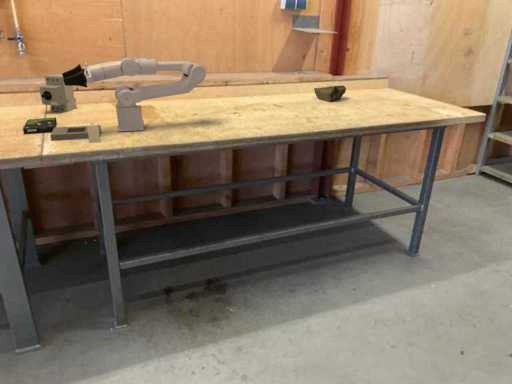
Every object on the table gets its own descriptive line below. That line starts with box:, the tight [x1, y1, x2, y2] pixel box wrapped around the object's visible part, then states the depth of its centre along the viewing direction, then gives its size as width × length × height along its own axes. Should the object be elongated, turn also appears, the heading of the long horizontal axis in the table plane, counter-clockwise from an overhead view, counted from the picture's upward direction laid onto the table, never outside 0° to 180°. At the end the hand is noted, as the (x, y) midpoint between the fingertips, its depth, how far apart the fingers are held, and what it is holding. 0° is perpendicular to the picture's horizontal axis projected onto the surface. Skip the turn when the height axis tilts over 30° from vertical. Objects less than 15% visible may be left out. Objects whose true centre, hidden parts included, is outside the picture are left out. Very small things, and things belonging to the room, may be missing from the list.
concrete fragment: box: [313, 85, 347, 103], centre depth 219 cm, size 15×10×15 cm
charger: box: [86, 122, 101, 144], centre depth 144 cm, size 3×3×6 cm
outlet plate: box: [50, 124, 102, 142], centre depth 151 cm, size 16×10×2 cm, turn 106°
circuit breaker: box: [38, 73, 78, 113], centre depth 182 cm, size 8×14×15 cm, turn 166°
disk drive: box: [22, 117, 58, 135], centre depth 159 cm, size 10×3×15 cm
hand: (63, 79), depth 145 cm, fingers open, 7 cm apart
